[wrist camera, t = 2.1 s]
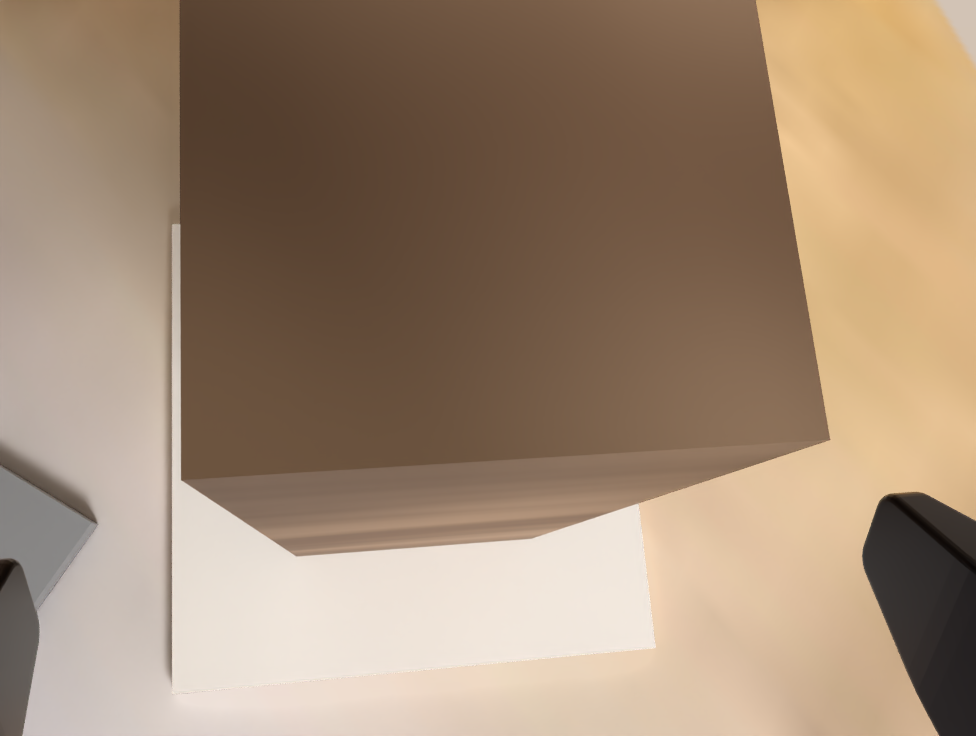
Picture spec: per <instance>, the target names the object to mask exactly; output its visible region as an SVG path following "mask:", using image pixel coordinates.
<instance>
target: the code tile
mask: <svg viewBox="0 0 976 736" xmlns="http://www.w3.org/2000/svg"><path fill="white" fill-rule="evenodd" d="M650 648H656V647H655V638H654V630H653V621H652V613H651V605H650V596H649V588H648V579H647V571H646V562H645V554H644V545H643V537H642V529H641V520H640V512H639V503H638V504H635V505H632V506H629V507H626V508H623V509H620V510H617V511H614V512H611V513H608V514H605V515H602V516H599V517H596V518H593V519H590V520H587V521H584V522H581V523H578V524H574V525H571V526H568V527H565V528H562V529H559V530H556V531H553V532H550V533H547V534H544V535H541V536H538V537H535V538H532V539H522V540H509V541H496V542H482V543H469V544H456V545H443V546H429V547H416V548H403V549H390V550H376V551H363V552H350V553H337V554H324V555H310V556H297V557H296V556H295V555H293V554H292V553H290V552H289V551H287V550H286V549H284V548H283V547H281V546H280V545H278V544H277V543H275V542H274V541H272V540H271V539H269V538H268V537H266V536H265V535H263V534H262V533H260V532H259V531H257V530H256V529H254V528H253V527H251V526H250V525H248V524H247V523H245V522H244V521H242V520H241V519H239V518H238V517H236V516H234V515H233V514H231V513H230V512H228V511H227V510H225V509H224V508H222V507H221V506H219V505H218V504H216V503H215V502H213V501H212V500H210V499H209V498H207V497H206V496H204V495H203V494H201V493H200V492H198V491H197V490H195V489H194V488H192V487H191V486H189V485H188V484H186V483H185V482H183V481H182V480H181V321H180V224H172V695H173V694H183V693H194V692H204V691H214V690H225V689H235V688H246V687H256V686H266V685H277V684H287V683H297V682H308V681H318V680H328V679H339V678H349V677H360V676H370V675H380V674H391V673H401V672H411V671H422V670H432V669H443V668H453V667H463V666H474V665H484V664H494V663H505V662H515V661H526V660H536V659H546V658H557V657H567V656H577V655H588V654H598V653H608V652H619V651H629V650H640V649H650Z"/></svg>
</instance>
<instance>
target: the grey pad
mask: <svg viewBox="0 0 976 736" xmlns="http://www.w3.org/2000/svg"><path fill="white" fill-rule="evenodd" d="M97 525H98V524H97V523H95V522H94V521H92V520H90V519H89V518H87V517H85V516H84V515H82V514H81V513H79V512H77V511H76V510H74V509H72V508H71V507H69V506H67V505H66V504H64V503H63V502H61V501H59V500H58V499H56V498H54V497H53V496H51V495H49V494H48V493H46V492H45V491H43V490H41V489H40V488H38V487H36V486H35V485H33V484H31V483H30V482H28V481H26V480H25V479H23V478H22V477H20V476H18V475H17V474H15V473H13V472H12V471H10V470H8V469H7V468H5V467H4V466H2V465H0V559H3V558H12V559H15V560H17V561H19V563H20V564H21V566H22V567H23V570H24V573H25V576H26V579H27V583H28V586H29V589H30V593H31V596H32V599H33V602H34V606H35V609H36V611H37V610H38V608H39V607H40V605H41V604H42V603H43V601H44V600H45V598H46V597H47V596H48V594H49V593H50V591H51V590H52V589H53V587H54V586H55V584H56V583H57V582H58V580H59V579H60V577H61V576H62V575H63V573H64V572H65V570H66V569H67V567H68V566H69V565H70V563H71V562H72V560H73V559H74V558H75V556H76V555H77V553H78V552H79V551H80V549H81V548H82V546H83V545H84V544H85V542H86V541H87V539H88V538H89V537H90V535H91V534H92V532H93V531H94V530H95V528H96V527H97Z"/></svg>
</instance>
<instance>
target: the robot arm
mask: <svg viewBox="0 0 976 736" xmlns="http://www.w3.org/2000/svg"><path fill="white" fill-rule="evenodd" d="M862 558H863V565H864V569H865V573H866V575H867V577H868V580H869V582H870V585H871V587H872V589H873V592H874V594H875V597H876V599H877V601H878V604H879V606H880V609H881V611H882V613H883V616H884V618H885V620H886V623H887V625H888V628H889V630H890V632H891V635H892V637H893V640H894V642H895V644H896V647H897V649H898V652H899V654H900V656H901V659H902V661H903V664H904V666H905V668H906V671H907V673H908V675H909V677H910V680H911V682H912V684H913V686H914V688H915V690H916V693H917V695H918V697H919V699H920V701H921V702H922V704H923V706H924V708H925V710H926V712H927V714H928V716H929V718H930V720H931V722H932V723H933V725H934V727H935V729H936V731H937V733H938V734H939V736H976V521H975V520H973V519H971V518H969V517H967V516H966V515H964V514H962V513H960V512H958V511H956V510H954V509H953V508H951V507H949V506H947V505H945V504H943V503H941V502H939V501H938V500H936V499H934V498H932V497H930V496H928V495H926V494H924V493H920V492H907V493H893V494H888V495H886V496H884V497H883V498H882V499H881V500H880V501H879V504H878V506H877V509H876V512H875V515H874V517H873V520H872V523H871V526H870V529H869V532H868V535H867V538H866V541H865V544H864V547H863V555H862ZM38 643H39V620H38V616H37V612H36V609H35V606H34V602H33V599H32V596H31V593H30V589H29V586H28V583H27V579H26V576H25V573H24V570H23V567H22V566H21V564H20V563H19V561H17V560H15V559H12V558H3V559H0V736H22V734H23V728H24V723H25V717H26V711H27V706H28V700H29V694H30V689H31V683H32V677H33V672H34V666H35V660H36V655H37V649H38Z"/></svg>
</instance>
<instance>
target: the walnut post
mask: <svg viewBox="0 0 976 736" xmlns="http://www.w3.org/2000/svg"><path fill="white" fill-rule="evenodd" d="M180 321H181V480H182V481H183V482H185V483H186V484H188V485H189V486H191V487H192V488H194V489H195V490H197V491H198V492H200V493H201V494H203V495H204V496H206V497H207V498H209V499H210V500H212V501H213V502H215V503H216V504H218V505H219V506H221V507H222V508H224V509H225V510H227V511H228V512H230V513H231V514H233V515H234V516H236V517H238V518H239V519H241V520H242V521H244V522H245V523H247V524H248V525H250V526H251V527H253V528H254V529H256V530H257V531H259V532H260V533H262V534H263V535H265V536H266V537H268V538H269V539H271V540H272V541H274V542H275V543H277V544H278V545H280V546H281V547H283V548H284V549H286V550H287V551H289V552H290V553H292V554H293V555H295V556H296V557H297V556H310V555H324V554H337V553H350V552H363V551H376V550H390V549H403V548H416V547H429V546H443V545H456V544H469V543H482V542H496V541H509V540H522V539H532V538H535V537H538V536H541V535H544V534H547V533H550V532H553V531H556V530H559V529H562V528H565V527H568V526H571V525H574V524H578V523H581V522H584V521H587V520H590V519H593V518H596V517H599V516H602V515H605V514H608V513H611V512H614V511H617V510H620V509H623V508H626V507H629V506H632V505H635V504H638V503H641V502H644V501H647V500H650V499H653V498H656V497H659V496H662V495H665V494H668V493H671V492H674V491H677V490H680V489H683V488H686V487H689V486H692V485H695V484H698V483H701V482H704V481H707V480H710V479H713V478H716V477H719V476H723V475H726V474H729V473H732V472H735V471H738V470H741V469H744V468H747V467H750V466H753V465H756V464H759V463H762V462H765V461H768V460H771V459H774V458H777V457H780V456H783V455H786V454H789V453H792V452H795V451H798V450H801V449H804V448H807V447H810V446H813V445H816V444H819V443H822V442H825V441H828V440H830V436H829V431H828V425H827V419H826V413H825V407H824V401H823V395H822V389H821V383H820V377H819V372H818V366H817V360H816V354H815V348H814V342H813V336H812V330H811V324H810V318H809V313H808V307H807V301H806V295H805V289H804V283H803V277H802V271H801V265H800V259H799V254H798V248H797V242H796V236H795V230H794V224H793V218H792V212H791V206H790V200H789V195H788V189H787V183H786V177H785V171H784V165H783V159H782V153H781V147H780V141H779V136H778V130H777V124H776V118H775V112H774V106H773V100H772V94H771V88H770V82H769V77H768V71H767V65H766V59H765V53H764V47H763V41H762V35H761V29H760V23H759V18H758V12H757V6H756V0H180Z"/></svg>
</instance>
